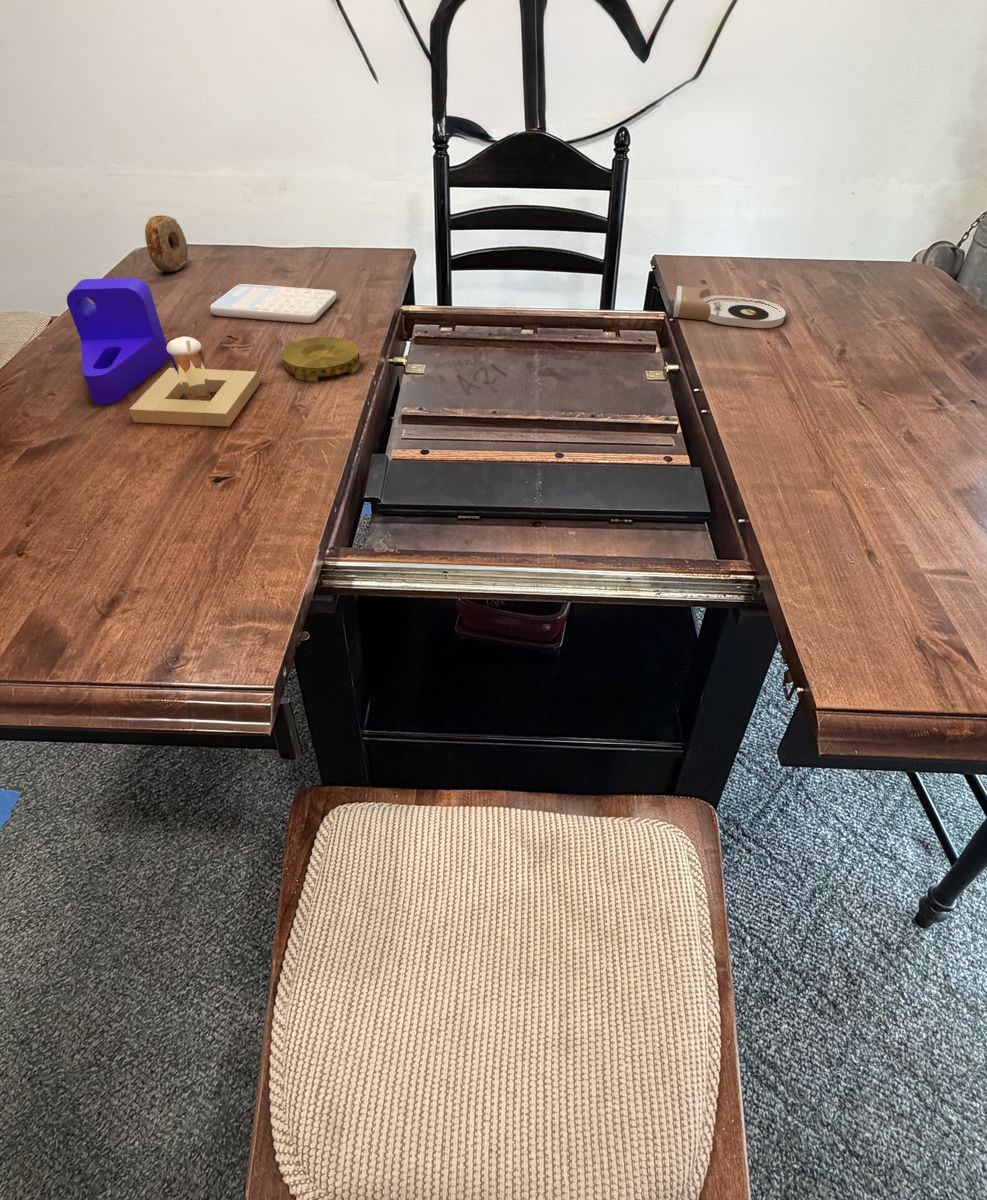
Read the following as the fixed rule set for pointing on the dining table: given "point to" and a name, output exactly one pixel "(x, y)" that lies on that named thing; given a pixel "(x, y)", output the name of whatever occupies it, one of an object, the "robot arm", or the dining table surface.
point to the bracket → (116, 335)
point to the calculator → (274, 303)
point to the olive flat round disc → (321, 357)
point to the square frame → (220, 411)
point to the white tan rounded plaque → (726, 309)
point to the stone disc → (166, 243)
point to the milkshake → (189, 367)
